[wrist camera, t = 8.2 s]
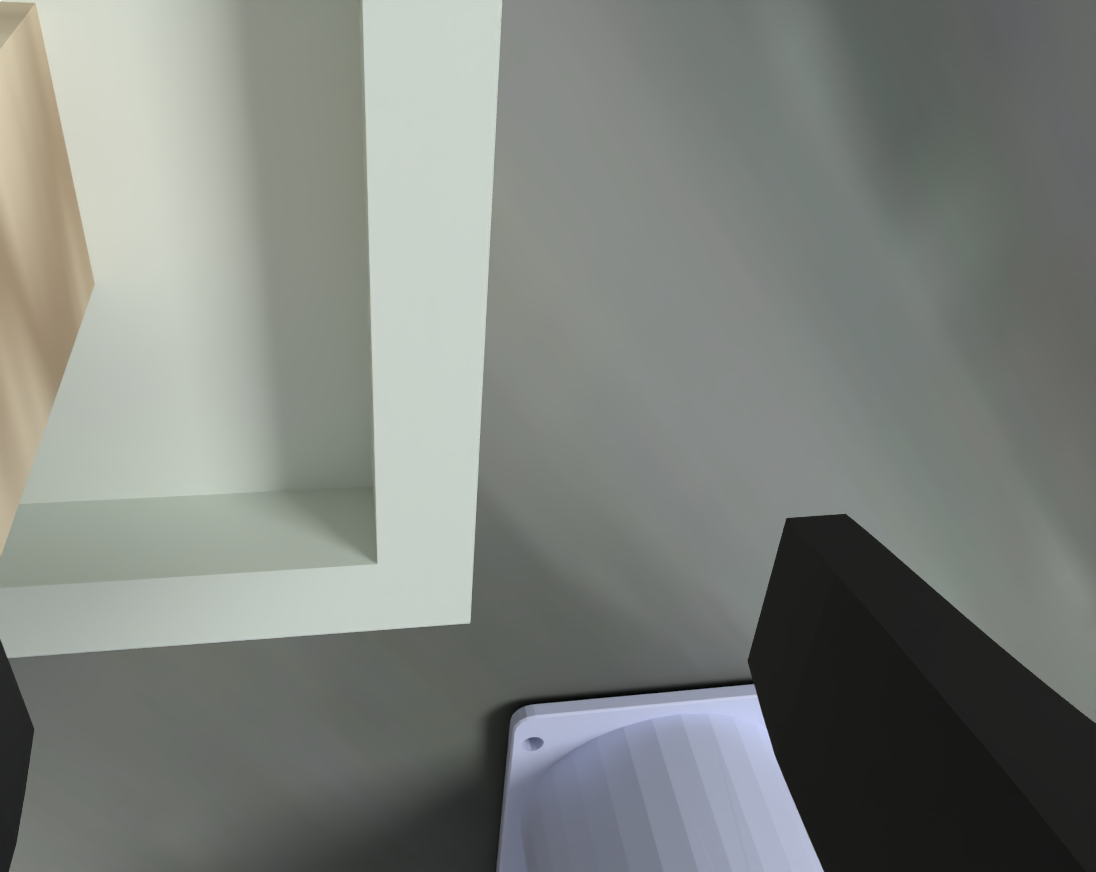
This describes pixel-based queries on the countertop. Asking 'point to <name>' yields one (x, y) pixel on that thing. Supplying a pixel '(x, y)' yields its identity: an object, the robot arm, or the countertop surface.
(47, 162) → the maple block
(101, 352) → the tray
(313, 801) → the countertop surface
